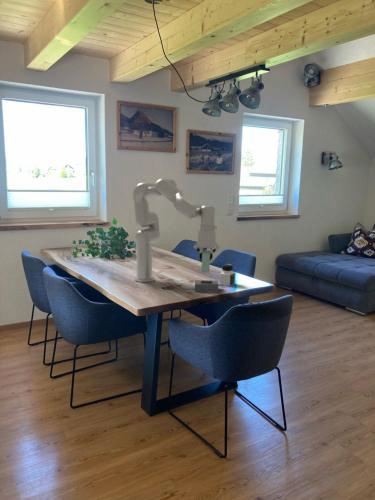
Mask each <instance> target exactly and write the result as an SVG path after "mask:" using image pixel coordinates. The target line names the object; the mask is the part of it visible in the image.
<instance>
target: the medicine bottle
mask: <svg viewBox="0 0 375 500" xmlns="http://www.w3.org/2000/svg"><path fill="white" fill-rule="evenodd" d="M221 267H222V270H221V272H220V273H219V279H218V280H219V281H218V285H219V286H227V287H231V286H233V285H234V284H235V283H236V282H235V281H236V279H235V278H236V273H235V272H233V265H232V264H230V263H227V264H226V263H225V264H222V266H221Z"/></svg>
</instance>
